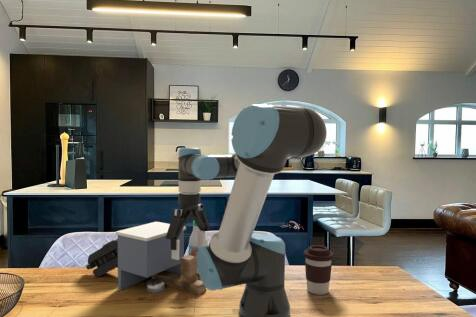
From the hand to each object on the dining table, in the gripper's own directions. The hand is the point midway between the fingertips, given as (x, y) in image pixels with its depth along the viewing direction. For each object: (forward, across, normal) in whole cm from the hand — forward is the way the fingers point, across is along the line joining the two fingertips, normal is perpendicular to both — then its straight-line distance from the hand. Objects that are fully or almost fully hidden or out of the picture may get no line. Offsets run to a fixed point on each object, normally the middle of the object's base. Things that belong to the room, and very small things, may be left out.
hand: (188, 253), depth 123 cm
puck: (+12, +7, -9) cm, 17 cm away
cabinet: (+12, +5, -13) cm, 18 cm away
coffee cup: (+12, -23, +38) cm, 46 cm away
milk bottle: (+13, -15, -8) cm, 21 cm away
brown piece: (+12, 0, -5) cm, 13 cm away
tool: (+13, +7, -32) cm, 35 cm away
